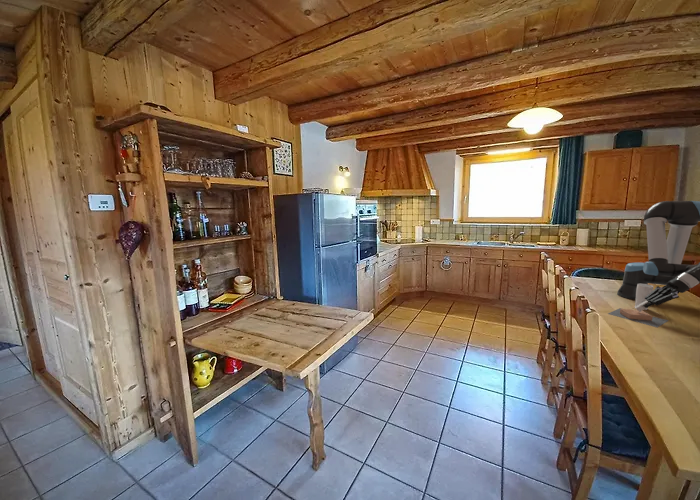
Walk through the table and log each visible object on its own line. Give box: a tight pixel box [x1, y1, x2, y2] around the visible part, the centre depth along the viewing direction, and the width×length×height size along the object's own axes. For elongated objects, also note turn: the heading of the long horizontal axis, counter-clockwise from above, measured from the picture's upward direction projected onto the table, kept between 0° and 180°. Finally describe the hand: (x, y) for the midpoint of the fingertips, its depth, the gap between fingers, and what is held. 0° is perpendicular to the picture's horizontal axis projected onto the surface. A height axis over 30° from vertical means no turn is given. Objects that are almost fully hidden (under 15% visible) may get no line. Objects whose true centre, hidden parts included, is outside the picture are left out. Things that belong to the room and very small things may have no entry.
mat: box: [607, 308, 669, 328], centre depth 155 cm, size 17×20×1 cm
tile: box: [620, 308, 654, 321], centre depth 154 cm, size 3×8×10 cm
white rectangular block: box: [634, 283, 654, 311], centre depth 166 cm, size 7×7×15 cm
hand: (637, 309), depth 154 cm, fingers closed
